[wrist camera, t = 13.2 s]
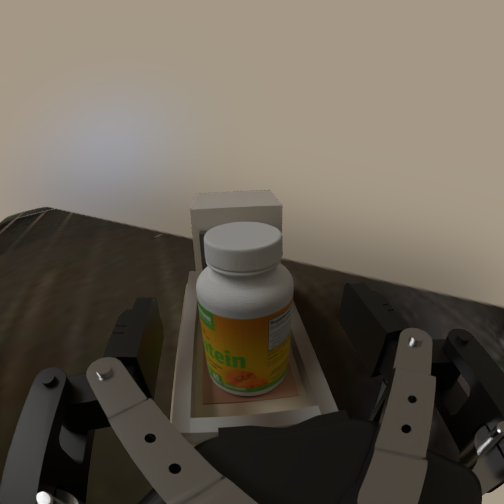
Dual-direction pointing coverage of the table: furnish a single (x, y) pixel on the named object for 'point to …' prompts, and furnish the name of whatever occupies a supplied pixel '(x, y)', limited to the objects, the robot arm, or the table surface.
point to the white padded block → (230, 214)
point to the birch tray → (234, 406)
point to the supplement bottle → (245, 307)
